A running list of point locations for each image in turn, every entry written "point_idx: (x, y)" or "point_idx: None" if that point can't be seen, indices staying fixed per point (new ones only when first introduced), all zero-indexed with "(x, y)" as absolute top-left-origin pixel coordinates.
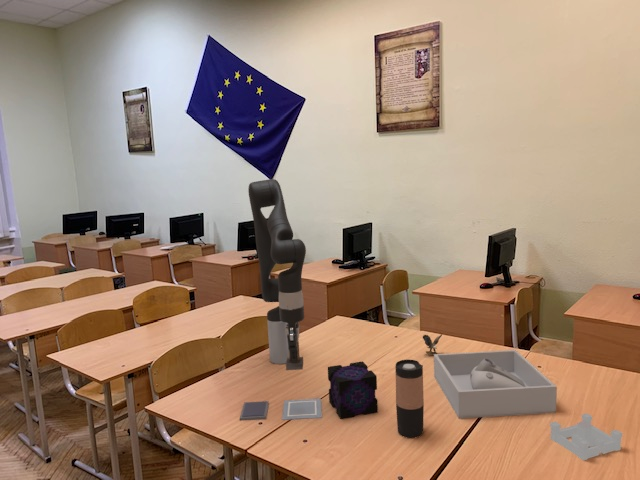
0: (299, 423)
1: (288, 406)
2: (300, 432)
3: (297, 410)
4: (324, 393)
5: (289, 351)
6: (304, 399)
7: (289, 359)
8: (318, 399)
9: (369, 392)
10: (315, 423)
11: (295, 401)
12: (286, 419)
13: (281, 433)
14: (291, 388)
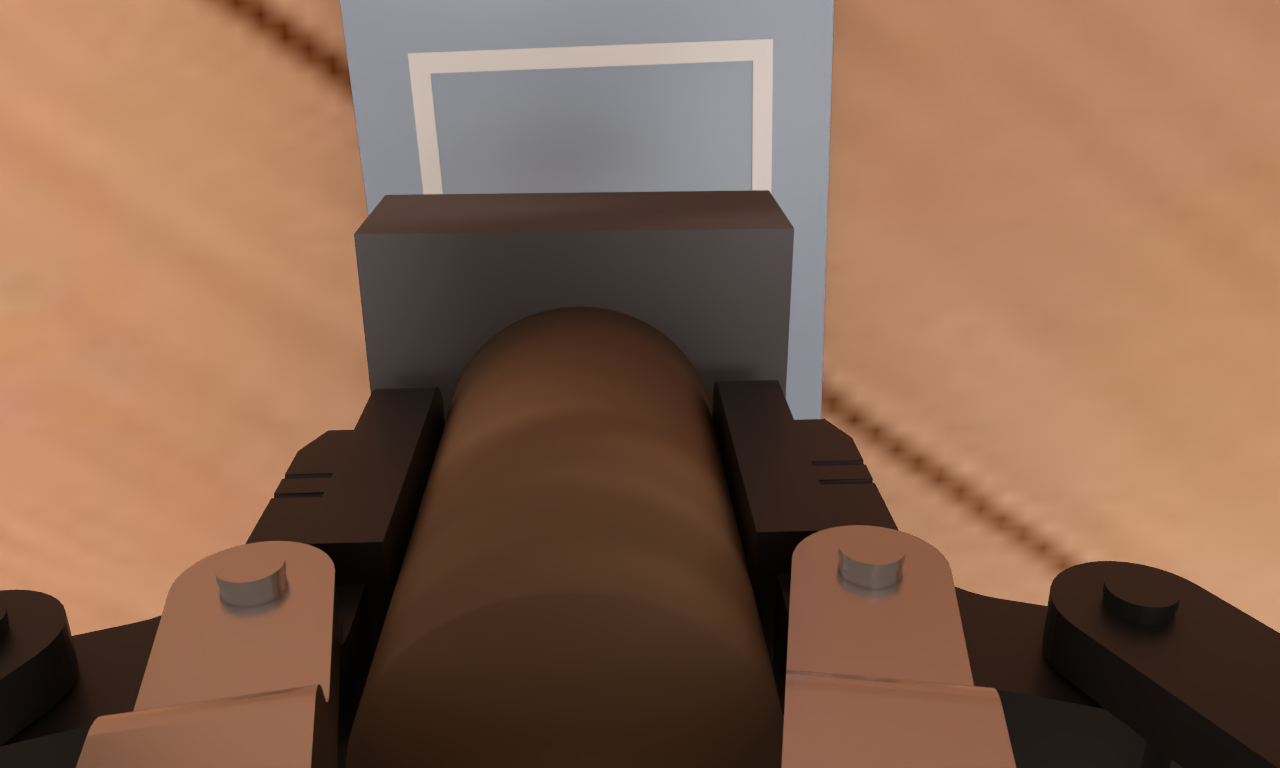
0: (285, 206)
1: (653, 47)
2: (95, 229)
3: (552, 169)
4: (962, 448)
5: (475, 455)
6: (822, 238)
7: (525, 333)
8: (798, 397)
9: None
10: (293, 375)
11: (784, 128)
12: (347, 46)
13: (45, 8)
14: (1195, 40)
